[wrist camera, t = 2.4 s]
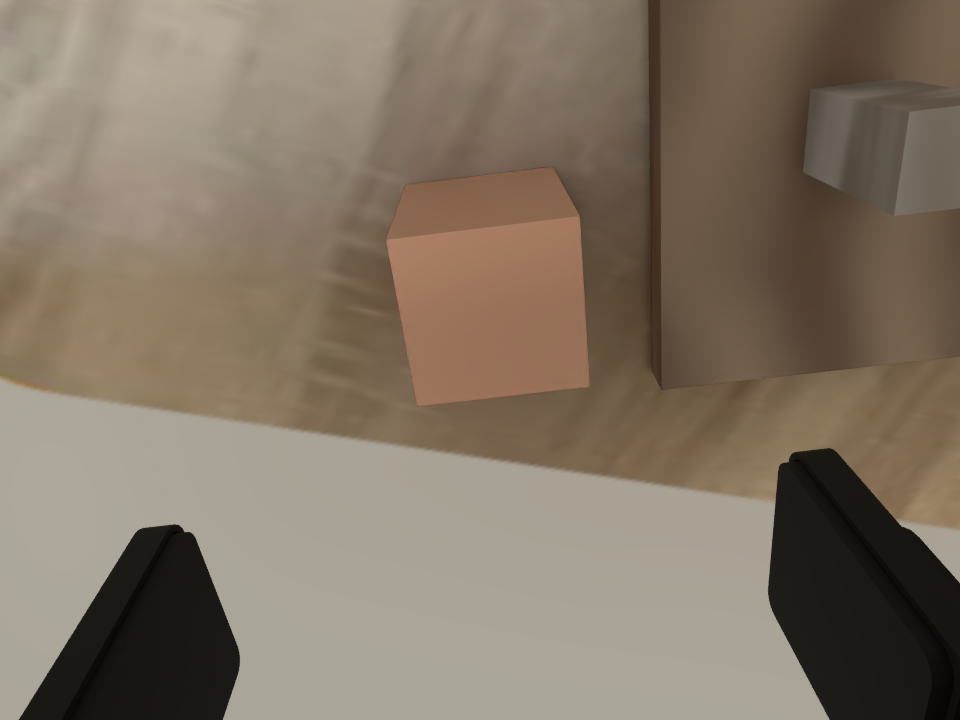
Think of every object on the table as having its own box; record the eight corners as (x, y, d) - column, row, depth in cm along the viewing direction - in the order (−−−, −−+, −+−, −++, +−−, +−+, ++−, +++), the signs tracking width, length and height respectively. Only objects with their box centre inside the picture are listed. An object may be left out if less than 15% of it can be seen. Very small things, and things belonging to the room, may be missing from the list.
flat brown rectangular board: (1075, -241, 19) (1362, -361, 13) (955, 337, 28) (1099, 433, 21) (646, -179, 20) (728, -266, 14) (652, 371, 28) (705, 475, 22)
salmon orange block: (552, 166, 24) (579, 216, 18) (562, 303, 27) (589, 386, 21) (405, 184, 25) (386, 239, 19) (428, 319, 27) (417, 406, 21)
